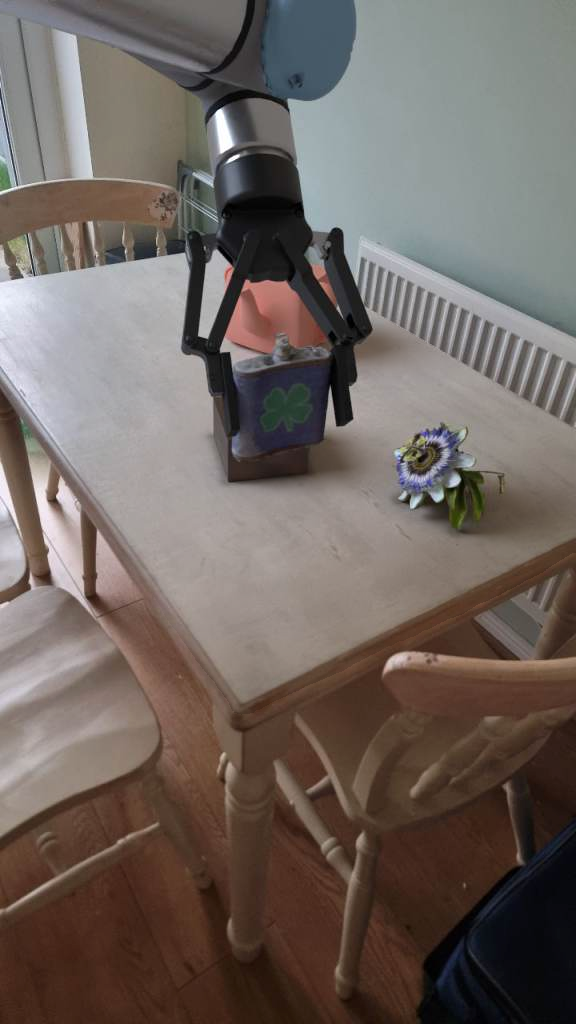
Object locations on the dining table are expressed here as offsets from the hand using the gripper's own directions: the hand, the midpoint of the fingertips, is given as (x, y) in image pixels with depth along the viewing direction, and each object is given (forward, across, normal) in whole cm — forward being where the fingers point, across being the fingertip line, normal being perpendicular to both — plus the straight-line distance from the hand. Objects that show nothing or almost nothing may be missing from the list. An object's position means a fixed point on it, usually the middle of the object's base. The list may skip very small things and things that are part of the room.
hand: (290, 428), depth 59 cm
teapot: (-23, -11, -50) cm, 57 cm away
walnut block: (-3, -3, -30) cm, 30 cm away
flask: (+1, 0, -5) cm, 5 cm away
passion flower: (+6, -22, -21) cm, 31 cm away
